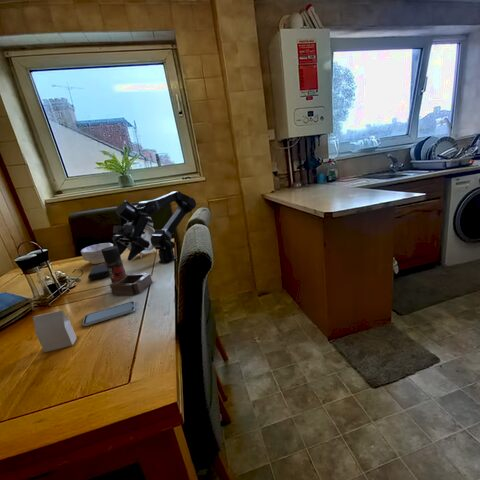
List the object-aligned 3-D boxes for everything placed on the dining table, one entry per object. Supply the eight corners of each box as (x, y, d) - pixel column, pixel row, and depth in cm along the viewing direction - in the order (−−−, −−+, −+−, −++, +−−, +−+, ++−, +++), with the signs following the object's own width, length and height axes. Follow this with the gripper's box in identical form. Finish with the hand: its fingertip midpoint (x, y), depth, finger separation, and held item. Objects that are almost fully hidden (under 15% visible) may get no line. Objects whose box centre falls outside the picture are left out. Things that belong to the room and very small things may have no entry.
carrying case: (115, 276, 124) (117, 266, 137) (113, 269, 123) (115, 260, 136) (88, 282, 121) (93, 271, 134) (86, 275, 120) (91, 265, 133)
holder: (128, 282, 115) (125, 273, 114) (153, 281, 113) (151, 272, 112) (110, 295, 105) (107, 286, 103) (138, 294, 103) (135, 285, 101)
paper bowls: (107, 264, 142) (102, 250, 139) (79, 267, 143) (73, 253, 140) (122, 254, 156) (118, 241, 153) (96, 257, 157) (91, 244, 154)
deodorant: (109, 285, 114) (98, 251, 109) (116, 280, 120) (105, 247, 114) (124, 284, 114) (113, 249, 109) (129, 278, 120) (119, 245, 114)
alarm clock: (136, 260, 143) (124, 218, 135) (127, 259, 147) (115, 218, 140) (162, 250, 155) (153, 211, 147) (153, 249, 160) (143, 211, 152)
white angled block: (72, 345, 76) (59, 313, 72) (44, 352, 74) (29, 320, 71) (76, 337, 79) (64, 307, 76) (50, 344, 78) (35, 313, 74)
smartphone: (85, 314, 90) (134, 300, 96) (85, 317, 91) (134, 302, 96) (82, 325, 84) (134, 309, 90) (83, 327, 84) (135, 311, 90)
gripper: (109, 216, 120) (92, 249, 115) (135, 217, 110) (118, 252, 105) (130, 229, 129) (115, 260, 124) (156, 231, 119) (141, 264, 114)
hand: (122, 259), depth 117 cm, fingers open, 9 cm apart
